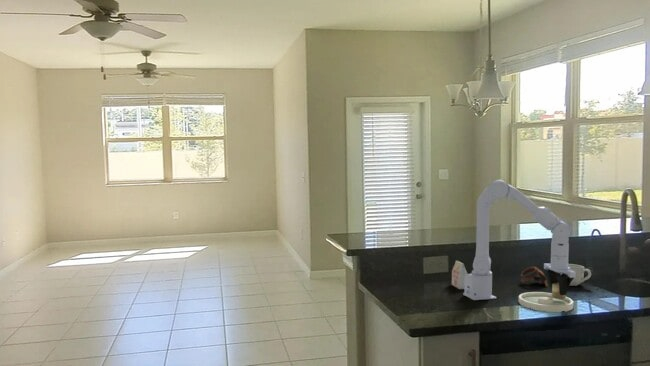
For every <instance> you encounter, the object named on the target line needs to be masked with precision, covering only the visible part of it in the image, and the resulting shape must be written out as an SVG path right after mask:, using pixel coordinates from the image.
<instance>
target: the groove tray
mask: <svg viewBox="0 0 650 366" xmlns="http://www.w3.org/2000/svg"><path fill="white" fill-rule="evenodd" d="M574 301H575V300H573V299H572V298H570V297H568V296H565V298H564V299H558V298H554V297H552V292H543V291H531V292H530V291H529V292H523V293H520V294H519V295H518V303H519V305H520V306H522V307H525V308H527V309H530V308H531V310H534V309H535V311H540V310H541V312H546V311H547V313H548V312H550V313H563V312H562V311H565V312H569V311H572V310H573V308H574Z"/></svg>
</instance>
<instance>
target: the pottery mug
mask: <svg viewBox="0 0 650 366" xmlns="http://www.w3.org/2000/svg"><path fill="white" fill-rule="evenodd" d="M519 277H521V278H520V282H521V284H524V283H526V282H529V281H531V282H534V281H536V282H537V281H538V282H539V281H540V282H541V284H544V286H545V288H546V287H548V286H549V285H548V284H549V283H548V279H547V276H546V274H545V272H543V271H542V270H541V269H540V268H538V267H537V266H530V267H528V268H526V269H524V270H523V271H522V272H521V274H519Z"/></svg>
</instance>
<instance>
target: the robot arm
mask: <svg viewBox="0 0 650 366" xmlns="http://www.w3.org/2000/svg"><path fill="white" fill-rule="evenodd" d="M504 197H506V199H507V200H514V201H516V202H517V203H518V204H520V205H521V206H522V207H523V208H525V209H527V210H528V211H529V212H530V213H532V219H533V220H534V221H535V222H537V223H538V224H539V225H540V226H542V227H543V228H544V229H546V230H547V231H550V232H551V242H550V244H551V245H550V248H551V249H550V263H548V262H547V263H543V269H544V270H547V271H544V275H545V277H546V279H547V282H548V284H549V287H550V292H552V284H553V283H559V292H560V295H565V296H566V295H567V293H568V290H569V288H570V283H571V281H572V280H573V279H574V278H575V277H576V272H574V271H572V270H571V269H570V267H568V264H569V257H570V256H569V251H570V247H569V246H570V244H569V243H570V241H569V240H570V239H569V237H570V235H571V233H572V232H571V229H570V226H569V225H568V223H566V222H565V221H564V220H563V219H562V218H561V216H559V217H558V216H557V215H555V214H554V213H553V212H552V210H551V208H549V207H546V206H538V205H537V204H536V203H534V202H533V201H532V200H531V199H530V198H529V197H528V196H526V195H525V194H524V193H523V192H521V191H520V189H518V188H516V187H514V186H512V185H511V184H510V183H507V182H506V181H505V180H502V179H496V180H493V181H492V182H490V183H489V184H488V185H487V186H486V187H485V189H484V190H483V191H482V193H480V195H479V197H478V198H477V201H476V232H475V233H476V235H475V236H476V238H475V239H476V241H475V242H476V243H475V244H476V245H475V246H476V247H475V257H474V258H473V263H472V268H473V269H472V270H471V272H470V273H468V274H467V275H466V276H465V281H464V289H463V290H464V291H463V293H462V294H463V296H466V297H467V298H469V299H470V300H472V301H479V300H480V301H481V300H495V299H497V296H495V295H493V293H492V292H493V289H492V288H493V272H492V271H491V269H492V268H491V266H492V265H491V264H492V259H491V257H490V252H489V251H490V212H491V211H490V210H491V209H490V207H491V205H493V204H495V202H496V201H497V200H500V199H503V198H504ZM561 274H562V275H561Z"/></svg>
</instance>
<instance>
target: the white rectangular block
mask: <svg viewBox="0 0 650 366" xmlns="http://www.w3.org/2000/svg"><path fill="white" fill-rule="evenodd" d="M467 271H468V270H466V267H465V263H463V262H461V261H459V260H455V262H454V265H453V267H452V269H451V286H453V287H455V288H456V289H458V290H464V281H465V276H466V275H467V274H469V273H468V272H467Z"/></svg>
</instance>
